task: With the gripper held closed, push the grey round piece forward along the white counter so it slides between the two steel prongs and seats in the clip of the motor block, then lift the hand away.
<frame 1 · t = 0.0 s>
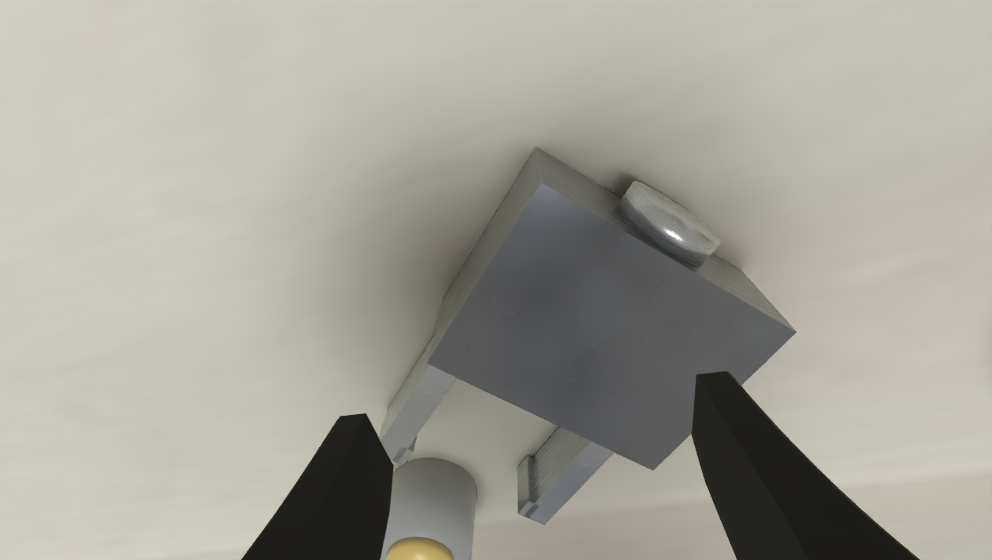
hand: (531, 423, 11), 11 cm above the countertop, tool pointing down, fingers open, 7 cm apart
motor: (501, 399, 24), on the countertop
grey round piece: (432, 489, 28), on the countertop
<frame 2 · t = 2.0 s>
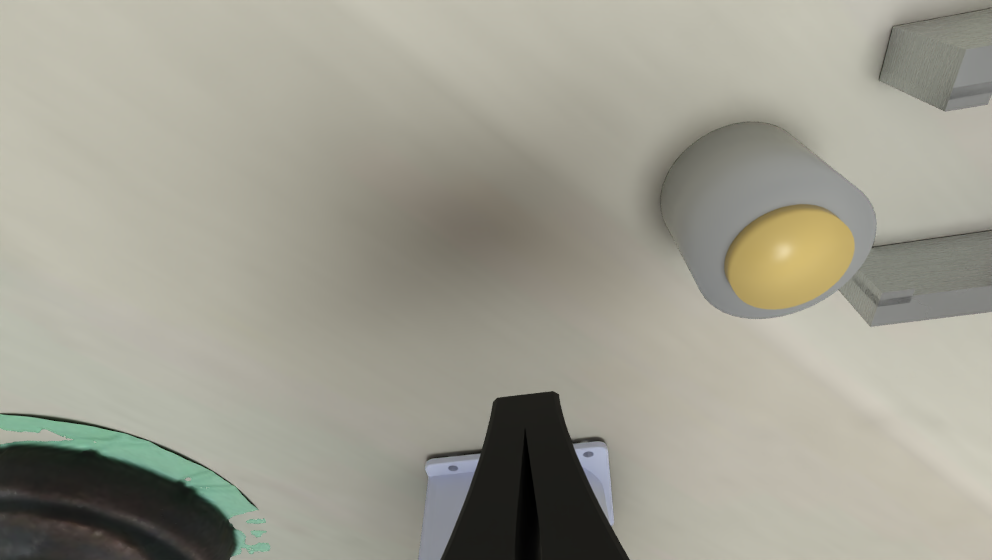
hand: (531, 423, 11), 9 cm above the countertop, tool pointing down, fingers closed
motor: (969, 154, 17), on the countertop
dark brimmed hat: (106, 510, 31), on the countertop
grey round piece: (730, 190, 17), on the countertop
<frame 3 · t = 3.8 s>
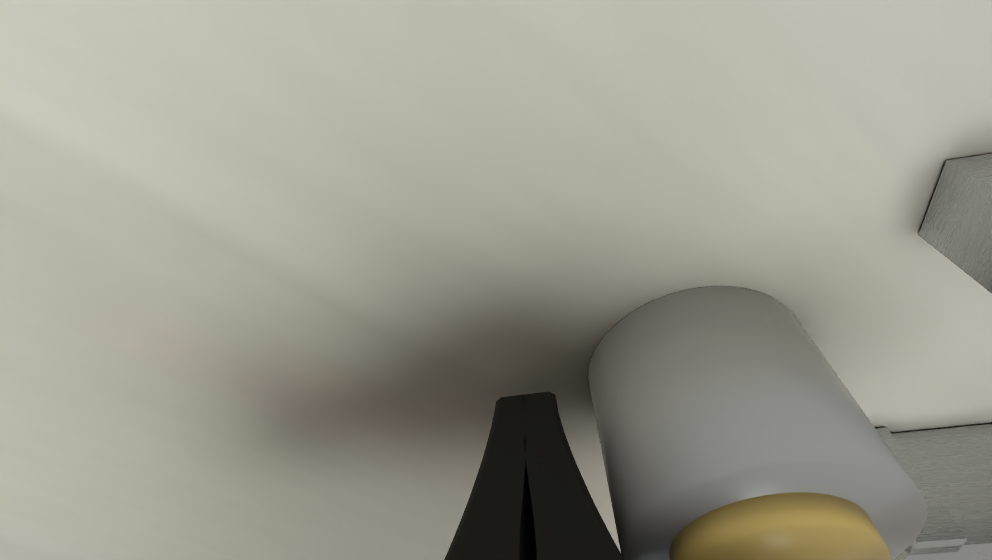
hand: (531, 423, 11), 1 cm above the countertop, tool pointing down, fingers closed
grey round piece: (692, 368, 12), on the countertop, touching gripper
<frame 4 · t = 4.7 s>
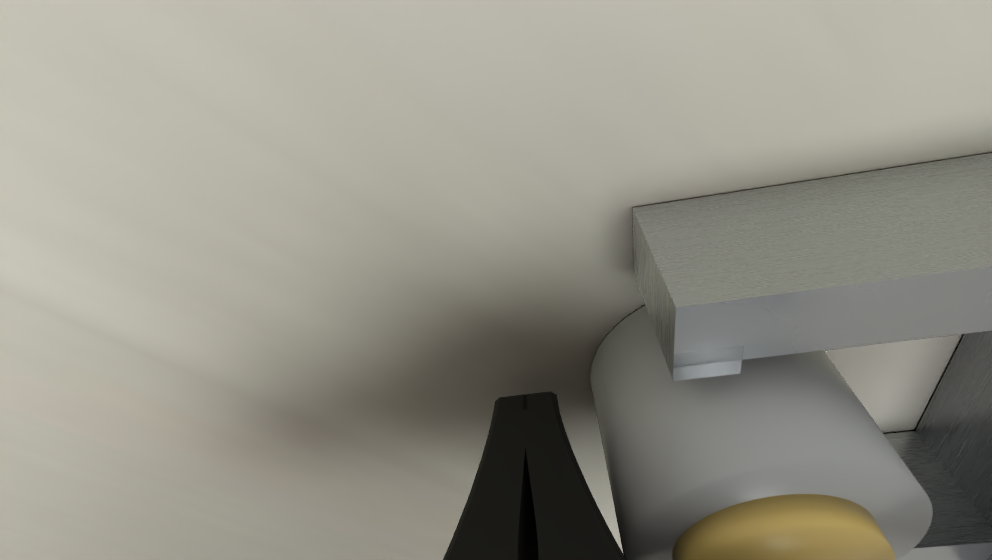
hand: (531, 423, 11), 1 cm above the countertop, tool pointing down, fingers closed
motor: (793, 357, 11), on the countertop
grey round piece: (695, 368, 12), on the countertop, touching gripper
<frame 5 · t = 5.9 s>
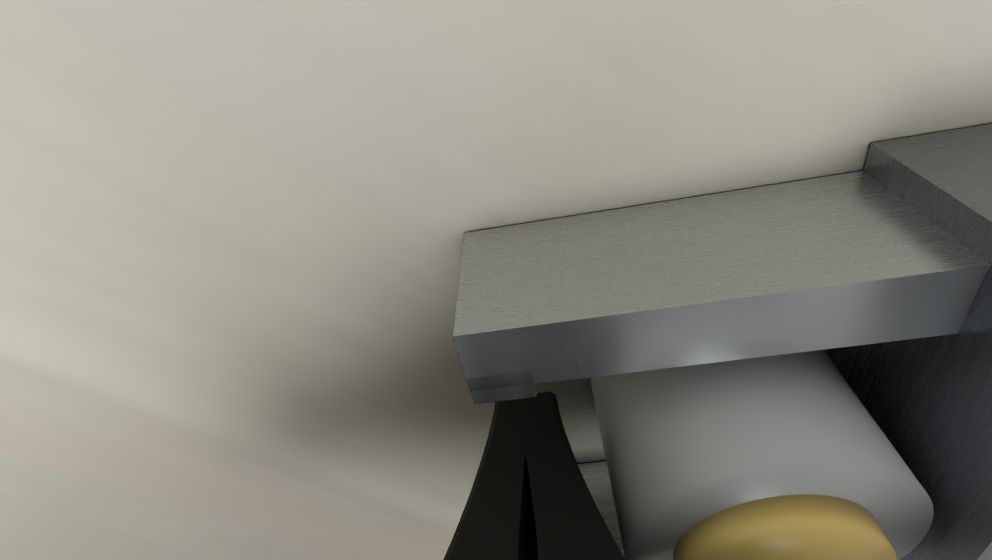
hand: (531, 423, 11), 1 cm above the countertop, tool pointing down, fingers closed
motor: (654, 373, 12), on the countertop
grey round piece: (695, 368, 12), on the countertop, touching gripper
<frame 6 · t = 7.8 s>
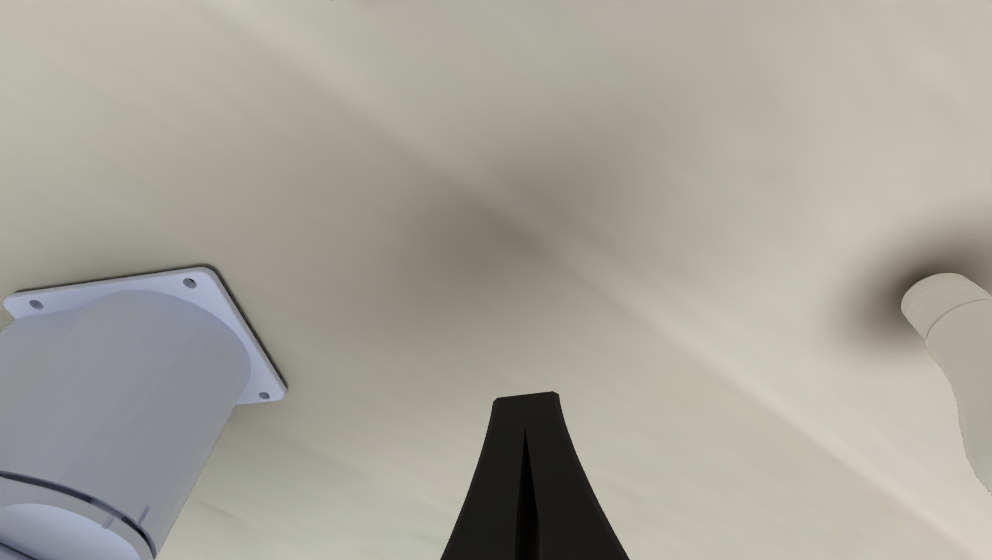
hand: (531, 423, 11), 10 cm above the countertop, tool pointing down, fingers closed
lightbulb: (918, 282, 22), on the countertop
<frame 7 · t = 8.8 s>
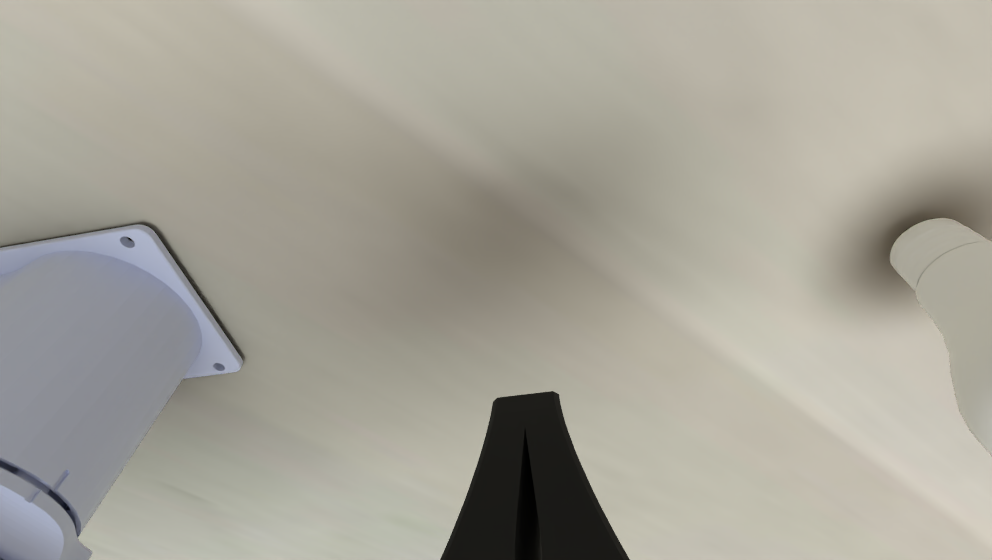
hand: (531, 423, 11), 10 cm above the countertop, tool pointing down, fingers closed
lightbulb: (908, 232, 20), on the countertop
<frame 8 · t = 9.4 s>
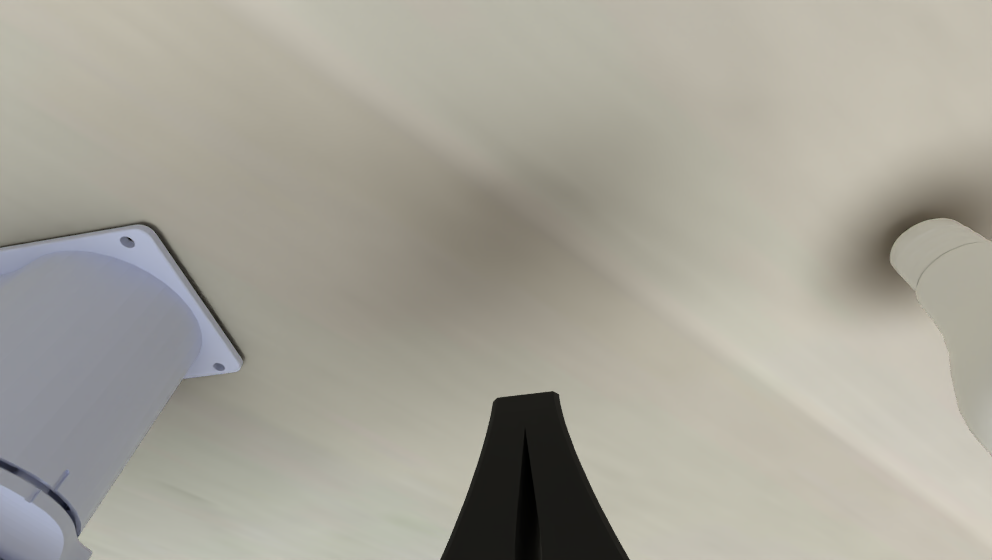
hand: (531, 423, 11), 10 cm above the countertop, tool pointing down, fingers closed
lightbulb: (908, 232, 20), on the countertop
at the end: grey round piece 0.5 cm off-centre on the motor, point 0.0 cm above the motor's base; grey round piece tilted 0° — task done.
